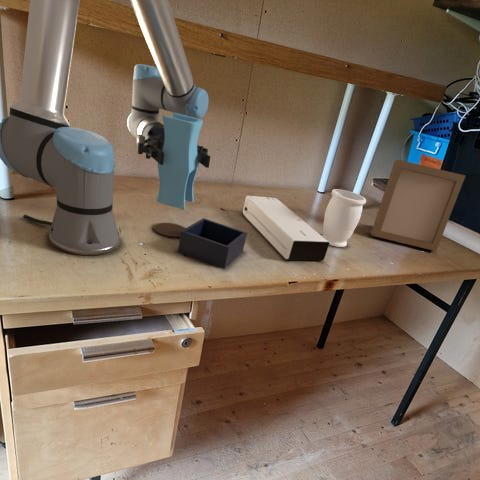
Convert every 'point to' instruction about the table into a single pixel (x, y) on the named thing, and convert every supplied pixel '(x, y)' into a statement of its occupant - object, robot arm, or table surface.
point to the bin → (212, 242)
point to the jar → (342, 216)
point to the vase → (179, 160)
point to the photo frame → (417, 204)
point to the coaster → (169, 230)
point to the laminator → (284, 229)
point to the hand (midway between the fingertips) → (185, 160)
